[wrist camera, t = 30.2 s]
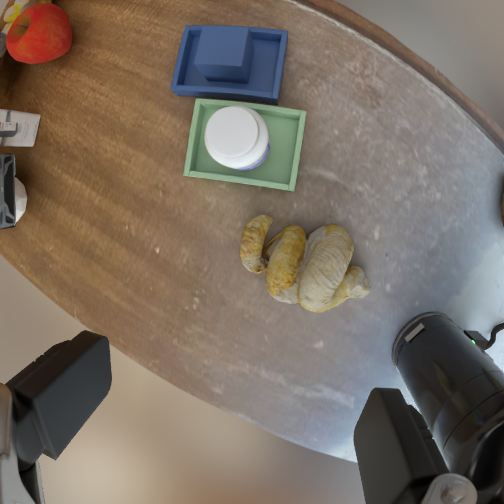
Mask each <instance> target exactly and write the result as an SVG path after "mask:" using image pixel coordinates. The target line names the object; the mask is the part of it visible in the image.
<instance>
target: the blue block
mask: <svg viewBox="0 0 504 504" xmlns="http://www.w3.org/2000/svg"><path fill="white" fill-rule="evenodd" d="M253 53H254V46H253V42H252V37H251V33H250V29H249V27H242V26H218V25H203V27H202V31H201V35H200V40H199V44H198V48H197V53H196V57H195V62H194V64H195V66H196V67H197V68H198V70H199V71H200V72H201V73H202V75H203V76H204V77H205V78H206V80H207V81H217V82H231V83H242V84H248V81H249V76H250V70H251V64H252V59H253Z"/></svg>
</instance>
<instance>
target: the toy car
mask: <svg viewBox="0 0 504 504" xmlns="http://www.w3.org/2000/svg"><path fill="white" fill-rule="evenodd" d="M26 202H27V195H26V191H25V186H24V185H23V184H22V183H21V182H20V181H19V180H18V179H17V178H16V177H15V157H14V155H13V154H0V229H6V228H12V227H15V223H16V222H17V221H18V220H19V219H20V217H21V216H22V215H23V213H24V212H25V209H26Z"/></svg>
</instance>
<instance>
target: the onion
mask: <svg viewBox="0 0 504 504" xmlns="http://www.w3.org/2000/svg"><path fill="white" fill-rule="evenodd" d="M502 223H503V226H504V195H503V202H502Z"/></svg>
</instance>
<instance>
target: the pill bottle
mask: <svg viewBox="0 0 504 504" xmlns="http://www.w3.org/2000/svg"><path fill="white" fill-rule="evenodd" d="M204 140H205V145H206V148H207V151H208V152H209V154H210V155H211V157H212V158H213V159H214V160H215V161H217V162H218V163H220V164H222V165H224V166H227V167H230V168H233V169H237V170H243V171H244V170H252V169H255V168H257V167H259V166H260V165H261V164H262V163H263V162H264V161H265V160H266V158H267V157H268V155H269V152H270V146H271V143H270V136H269V132H268V127H267V125H266V122H265V121H264V119H263V118H262V117H261V115H260V114H259V113H257V112H256V111H254V110H253V109H250V108H248V107H244V106H229V107H224V108H222V109H220V110H218V111H216V112H215V113H214V114H213V115H212V116H211V118H210V119H209V121H208V123H207V125H206V129H205V136H204Z"/></svg>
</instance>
